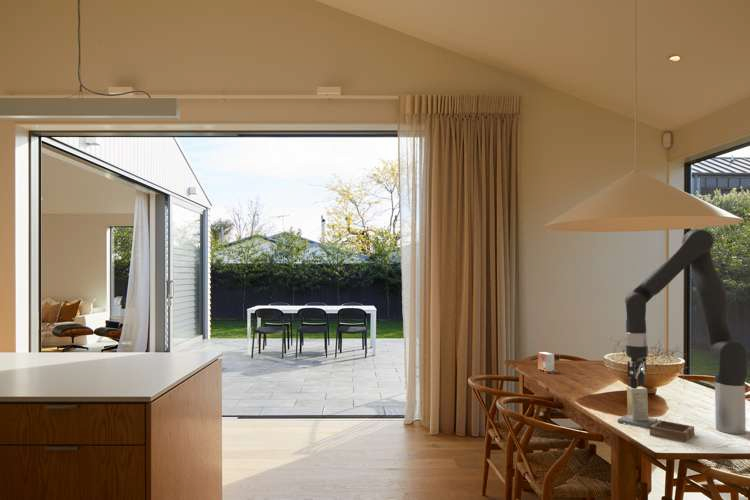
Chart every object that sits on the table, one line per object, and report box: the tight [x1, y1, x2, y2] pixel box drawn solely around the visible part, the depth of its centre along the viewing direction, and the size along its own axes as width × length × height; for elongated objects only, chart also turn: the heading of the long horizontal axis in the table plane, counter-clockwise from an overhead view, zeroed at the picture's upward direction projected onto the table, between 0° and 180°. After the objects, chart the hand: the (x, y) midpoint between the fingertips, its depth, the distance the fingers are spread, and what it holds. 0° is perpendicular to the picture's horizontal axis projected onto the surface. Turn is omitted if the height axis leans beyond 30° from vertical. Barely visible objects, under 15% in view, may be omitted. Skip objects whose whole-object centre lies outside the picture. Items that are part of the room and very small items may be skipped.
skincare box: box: [626, 385, 649, 421], centre depth 206 cm, size 6×4×12 cm
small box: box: [537, 351, 555, 371], centre depth 308 cm, size 8×6×10 cm
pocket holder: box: [649, 419, 695, 443], centre depth 191 cm, size 11×11×3 cm
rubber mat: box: [617, 413, 659, 429], centre depth 206 cm, size 11×11×1 cm
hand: (637, 386), depth 207 cm, fingers open, 8 cm apart
